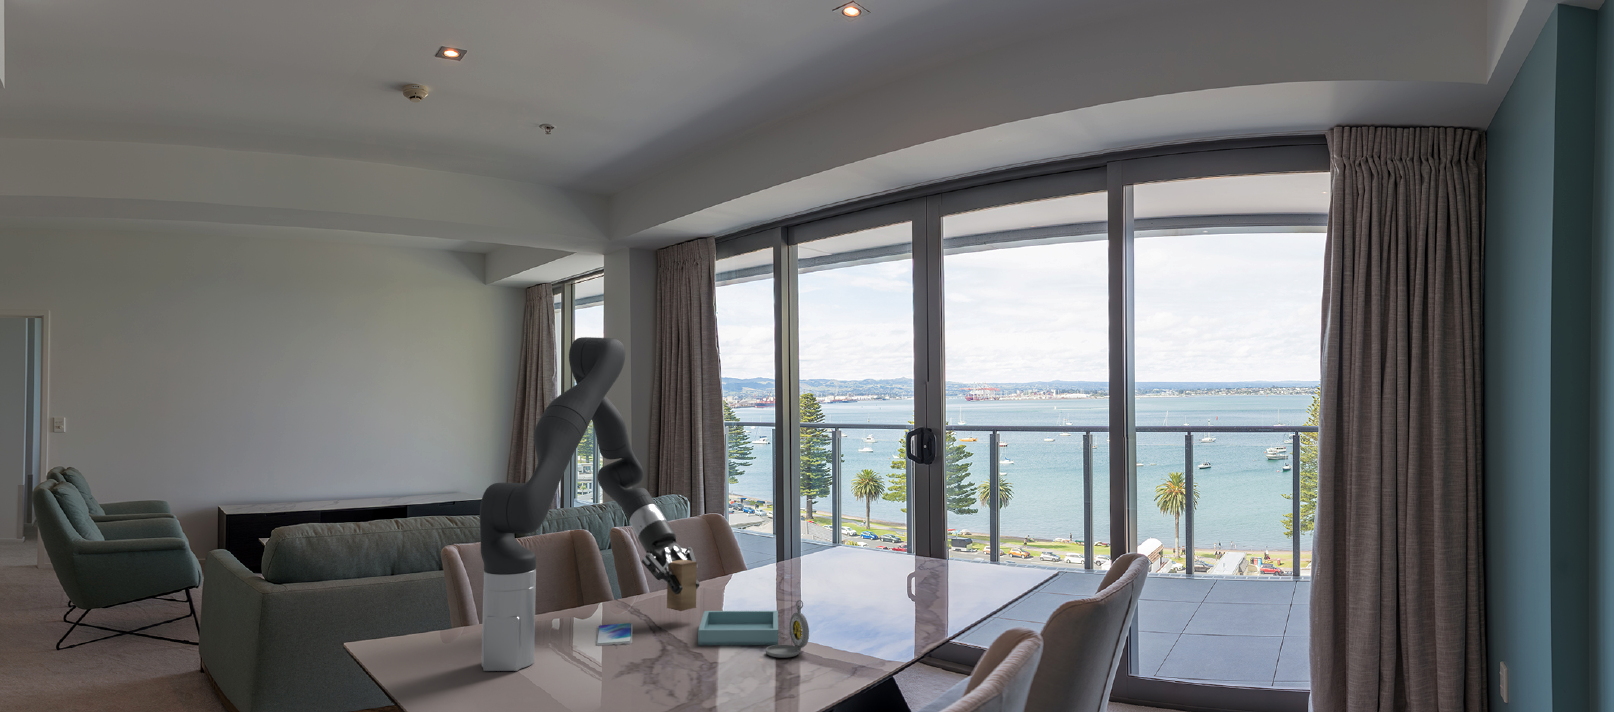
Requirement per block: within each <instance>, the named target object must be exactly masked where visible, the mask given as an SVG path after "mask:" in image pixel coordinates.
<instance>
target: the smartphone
mask: <svg viewBox="0 0 1614 712" xmlns="http://www.w3.org/2000/svg"><path fill="white" fill-rule="evenodd" d="M632 643H633V624H632V623H631V622H624V623H610V624H599V625H598V627H597V632H596V638H595V646H598V647H599V646H600V647H601V646H602V647H604V646H613V645H615V646H622V645H624V646H626V645H632Z"/></svg>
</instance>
